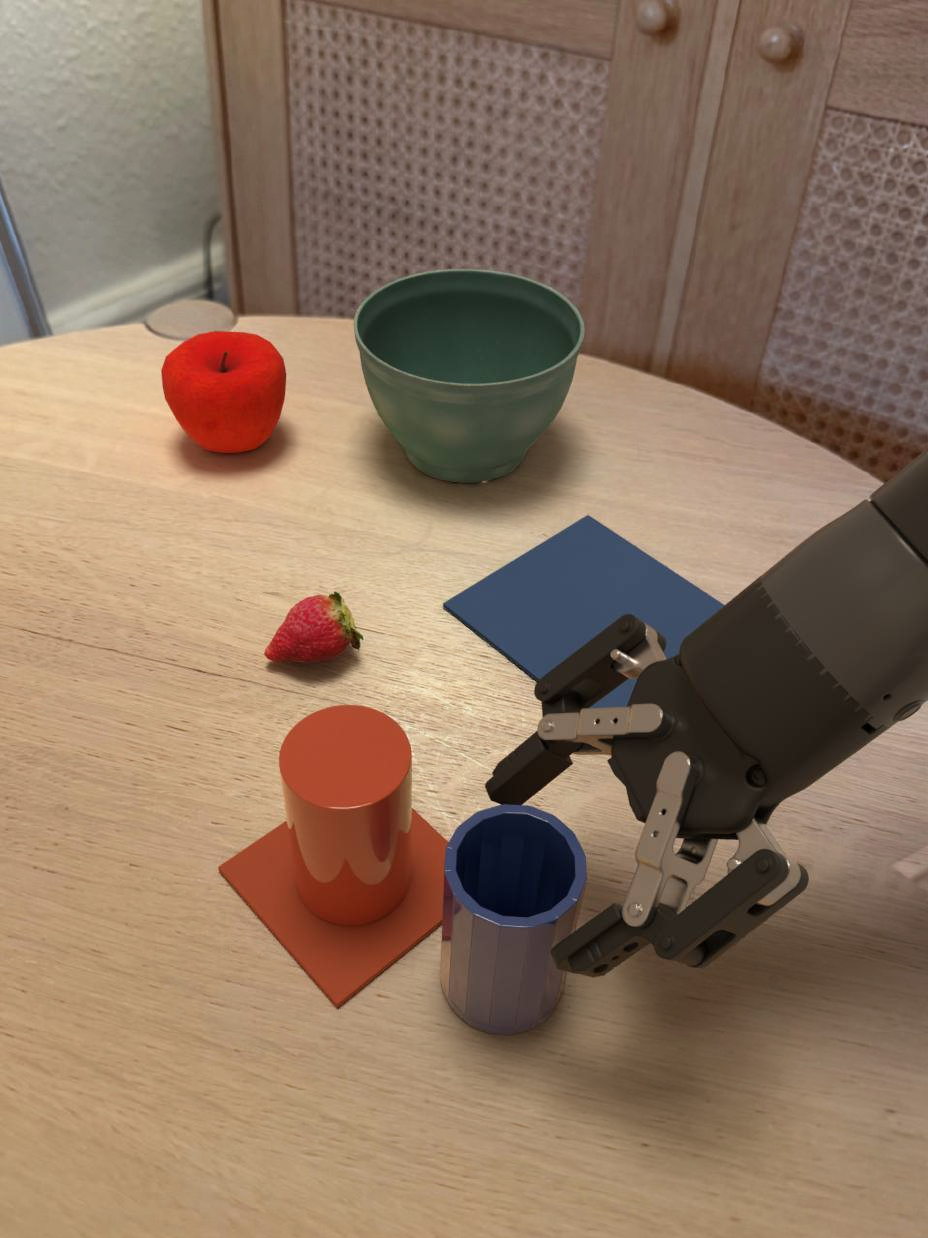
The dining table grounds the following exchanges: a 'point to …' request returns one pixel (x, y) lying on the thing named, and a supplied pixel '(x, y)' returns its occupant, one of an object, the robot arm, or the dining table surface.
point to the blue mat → (579, 600)
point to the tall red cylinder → (349, 812)
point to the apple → (225, 389)
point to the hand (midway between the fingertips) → (529, 877)
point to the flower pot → (467, 367)
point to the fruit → (315, 631)
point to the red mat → (331, 949)
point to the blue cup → (508, 915)
